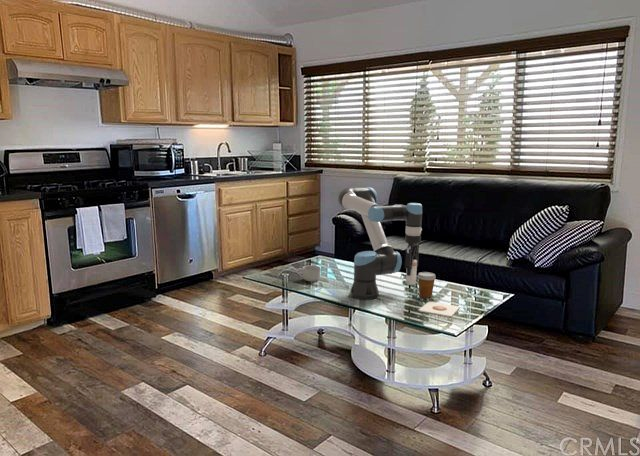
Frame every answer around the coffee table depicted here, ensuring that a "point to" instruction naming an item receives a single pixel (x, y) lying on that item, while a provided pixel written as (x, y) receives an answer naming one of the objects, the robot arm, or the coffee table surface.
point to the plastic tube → (413, 273)
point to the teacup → (310, 273)
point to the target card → (439, 309)
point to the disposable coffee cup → (426, 283)
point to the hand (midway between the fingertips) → (410, 280)
